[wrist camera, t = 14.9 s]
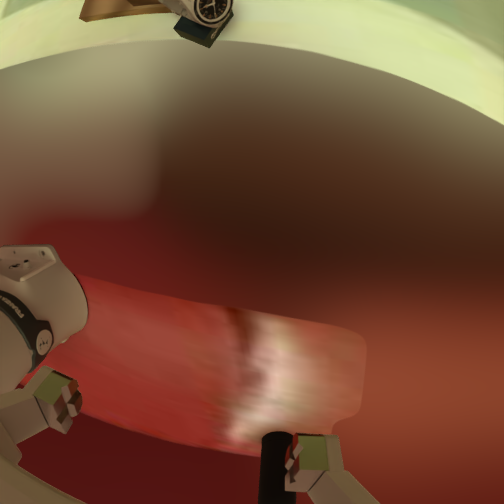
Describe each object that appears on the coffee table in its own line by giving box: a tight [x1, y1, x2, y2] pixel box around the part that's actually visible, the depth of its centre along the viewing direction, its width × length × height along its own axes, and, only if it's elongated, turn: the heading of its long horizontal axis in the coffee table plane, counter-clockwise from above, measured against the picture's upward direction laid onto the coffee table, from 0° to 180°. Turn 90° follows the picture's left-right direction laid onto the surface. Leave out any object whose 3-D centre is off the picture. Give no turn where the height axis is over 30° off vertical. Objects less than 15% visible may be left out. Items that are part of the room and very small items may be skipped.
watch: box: [158, 0, 233, 48], centre depth 23 cm, size 6×8×11 cm
